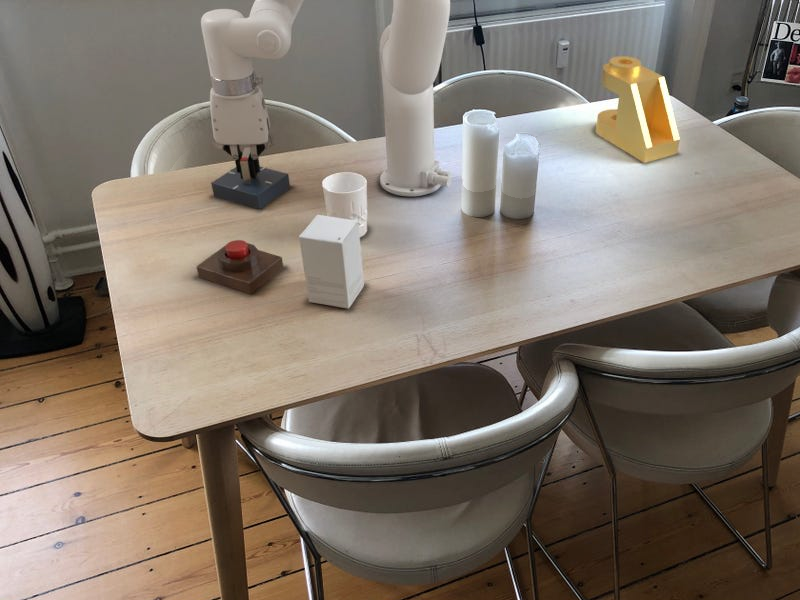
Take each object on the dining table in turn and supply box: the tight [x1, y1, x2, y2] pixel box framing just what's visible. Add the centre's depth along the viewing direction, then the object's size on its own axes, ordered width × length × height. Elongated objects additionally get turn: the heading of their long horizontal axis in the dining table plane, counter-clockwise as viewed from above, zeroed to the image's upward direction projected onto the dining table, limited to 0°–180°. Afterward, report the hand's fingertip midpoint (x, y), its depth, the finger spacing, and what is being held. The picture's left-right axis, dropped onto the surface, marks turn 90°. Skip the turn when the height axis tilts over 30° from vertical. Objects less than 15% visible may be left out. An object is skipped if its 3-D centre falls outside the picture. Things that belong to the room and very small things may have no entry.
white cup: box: [321, 171, 368, 238], centre depth 151 cm, size 8×8×10 cm
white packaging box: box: [298, 214, 365, 310], centre depth 134 cm, size 7×7×13 cm
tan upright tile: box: [240, 147, 253, 185], centre depth 161 cm, size 6×1×5 cm, turn 4°
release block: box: [196, 242, 284, 295], centre depth 142 cm, size 11×9×4 cm
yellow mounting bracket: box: [595, 55, 681, 164], centre depth 181 cm, size 20×9×16 cm, turn 31°
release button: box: [224, 239, 249, 259], centre depth 140 cm, size 4×4×2 cm
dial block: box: [210, 166, 291, 210], centre depth 164 cm, size 11×10×3 cm
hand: (249, 174), depth 162 cm, fingers closed
